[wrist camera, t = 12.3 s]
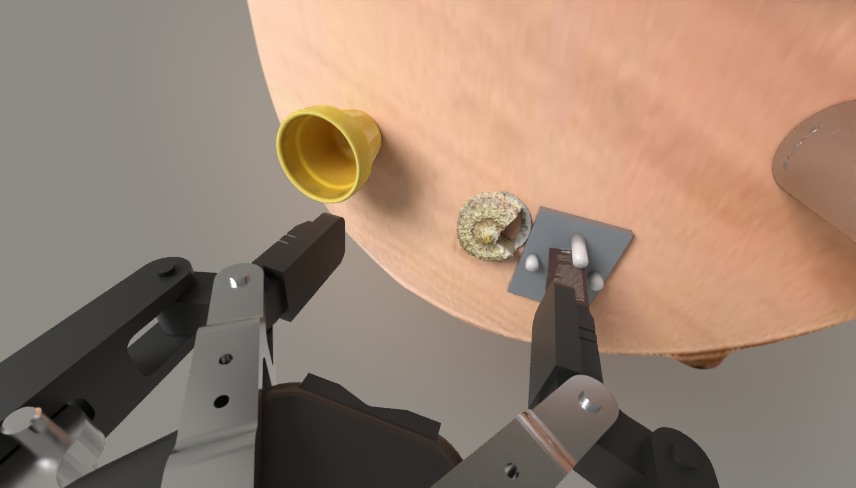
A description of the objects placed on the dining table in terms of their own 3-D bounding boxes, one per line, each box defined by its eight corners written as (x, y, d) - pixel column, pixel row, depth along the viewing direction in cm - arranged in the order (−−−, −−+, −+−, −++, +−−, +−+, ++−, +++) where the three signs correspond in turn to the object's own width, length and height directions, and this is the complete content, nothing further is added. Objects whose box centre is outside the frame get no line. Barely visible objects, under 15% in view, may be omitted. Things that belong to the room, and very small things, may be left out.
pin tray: (631, 230, 40) (642, 260, 35) (582, 309, 49) (586, 342, 44) (540, 206, 42) (539, 231, 37) (508, 286, 50) (503, 315, 45)
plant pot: (308, 110, 44) (256, 130, 36) (371, 79, 39) (328, 94, 32) (346, 181, 48) (307, 213, 41) (407, 160, 44) (377, 192, 36)
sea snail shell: (462, 249, 50) (451, 270, 46) (455, 187, 45) (441, 204, 41) (531, 255, 46) (526, 279, 42) (532, 187, 41) (526, 206, 37)
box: (546, 246, 43) (545, 311, 34) (584, 249, 42) (594, 317, 33) (542, 282, 47) (541, 351, 37) (577, 286, 45) (585, 358, 36)
